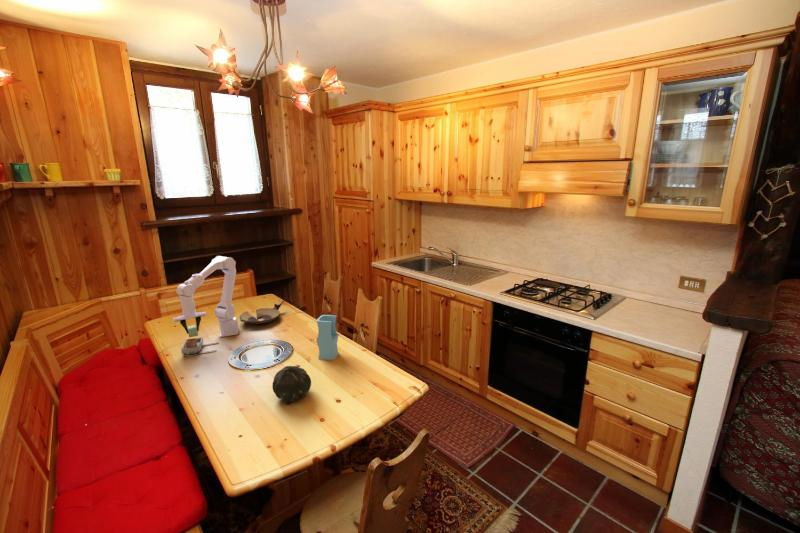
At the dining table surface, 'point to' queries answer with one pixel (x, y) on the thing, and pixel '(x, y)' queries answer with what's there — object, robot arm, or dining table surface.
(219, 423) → the dining table surface
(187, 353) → the rails
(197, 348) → the grey shallow tray
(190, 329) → the green block
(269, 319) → the broken bowl
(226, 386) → the dining table surface
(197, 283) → the robot arm
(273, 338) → the dining table surface
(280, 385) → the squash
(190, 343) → the copper block
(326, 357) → the vase
